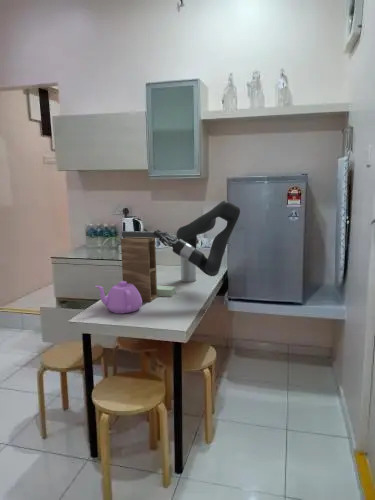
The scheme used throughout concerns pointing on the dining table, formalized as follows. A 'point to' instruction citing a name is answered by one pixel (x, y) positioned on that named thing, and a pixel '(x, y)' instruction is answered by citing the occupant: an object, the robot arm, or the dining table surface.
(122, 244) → the shelf tower
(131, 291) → the teapot
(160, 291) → the green block
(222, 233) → the robot arm
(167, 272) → the dining table surface
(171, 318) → the dining table surface
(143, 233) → the domino bar
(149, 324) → the dining table surface
